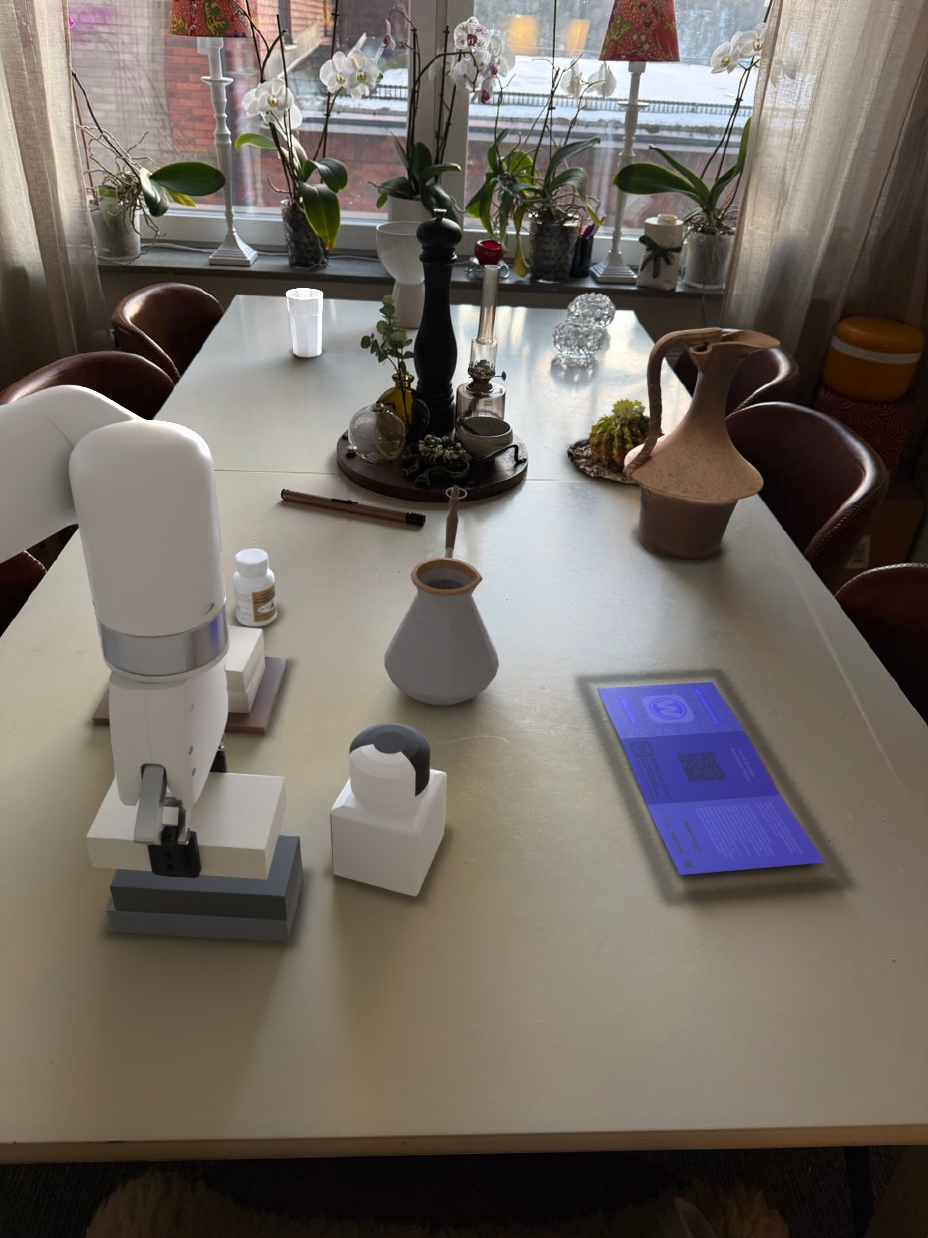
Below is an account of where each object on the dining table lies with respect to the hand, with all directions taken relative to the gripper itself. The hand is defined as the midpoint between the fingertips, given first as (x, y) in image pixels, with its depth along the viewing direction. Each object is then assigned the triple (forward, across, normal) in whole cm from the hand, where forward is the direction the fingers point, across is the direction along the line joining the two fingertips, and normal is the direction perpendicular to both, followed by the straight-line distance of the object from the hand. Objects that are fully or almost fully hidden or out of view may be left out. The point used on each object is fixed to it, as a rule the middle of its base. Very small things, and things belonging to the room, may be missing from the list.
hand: (192, 829), depth 67 cm
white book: (+1, 0, 0) cm, 1 cm away
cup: (+9, -129, -14) cm, 130 cm away
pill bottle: (+8, -39, -4) cm, 40 cm away
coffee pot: (+8, -34, +17) cm, 38 cm away
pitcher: (+8, -62, +46) cm, 77 cm away
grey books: (+8, 0, +1) cm, 8 cm away
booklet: (+7, -18, +41) cm, 45 cm away
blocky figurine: (+8, -6, +14) cm, 17 cm away
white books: (+8, -25, -7) cm, 27 cm away
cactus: (+8, -86, +41) cm, 95 cm away
